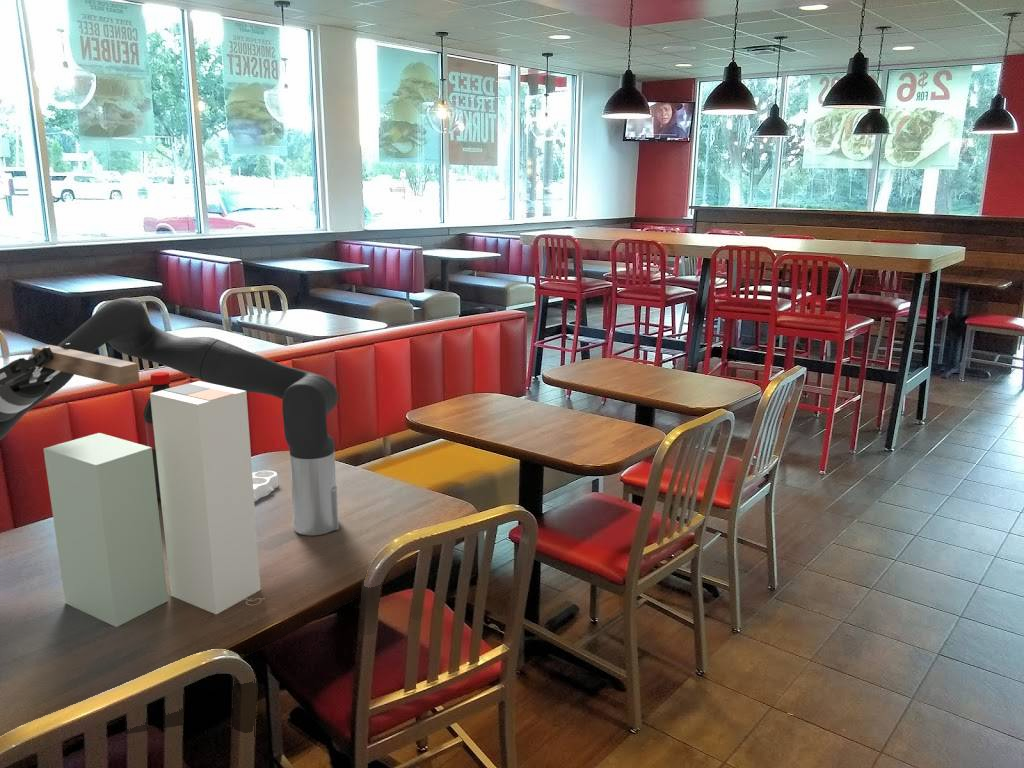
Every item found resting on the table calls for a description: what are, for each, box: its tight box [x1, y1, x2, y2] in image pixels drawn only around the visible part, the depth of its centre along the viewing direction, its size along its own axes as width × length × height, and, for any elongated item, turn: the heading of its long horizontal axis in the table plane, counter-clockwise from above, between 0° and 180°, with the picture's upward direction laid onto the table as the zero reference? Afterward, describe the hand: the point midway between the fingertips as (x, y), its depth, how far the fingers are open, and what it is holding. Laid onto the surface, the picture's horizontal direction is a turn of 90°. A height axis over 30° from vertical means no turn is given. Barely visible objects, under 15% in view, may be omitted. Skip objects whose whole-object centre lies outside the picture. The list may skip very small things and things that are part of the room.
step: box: [42, 432, 169, 628], centre depth 138 cm, size 14×10×29 cm
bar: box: [31, 344, 140, 387], centre depth 131 cm, size 24×3×3 cm, turn 60°
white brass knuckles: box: [252, 470, 279, 502], centre depth 189 cm, size 3×18×15 cm
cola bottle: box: [142, 371, 171, 501], centre depth 183 cm, size 8×8×30 cm
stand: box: [149, 380, 262, 615], centre depth 140 cm, size 12×10×38 cm
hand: (60, 350), depth 133 cm, fingers closed on bar, 3 cm apart
